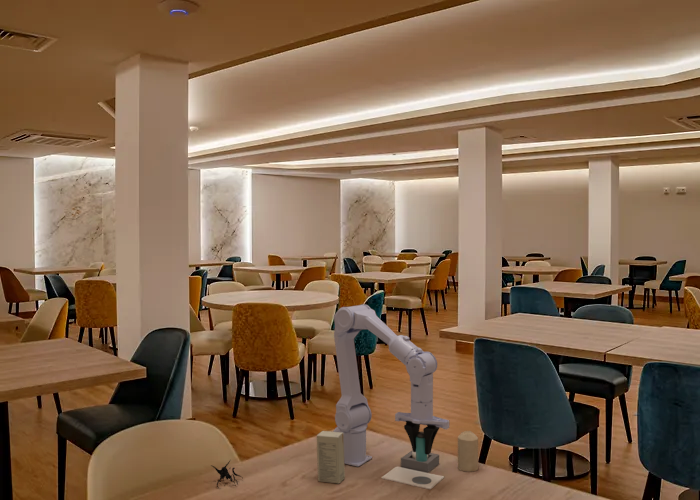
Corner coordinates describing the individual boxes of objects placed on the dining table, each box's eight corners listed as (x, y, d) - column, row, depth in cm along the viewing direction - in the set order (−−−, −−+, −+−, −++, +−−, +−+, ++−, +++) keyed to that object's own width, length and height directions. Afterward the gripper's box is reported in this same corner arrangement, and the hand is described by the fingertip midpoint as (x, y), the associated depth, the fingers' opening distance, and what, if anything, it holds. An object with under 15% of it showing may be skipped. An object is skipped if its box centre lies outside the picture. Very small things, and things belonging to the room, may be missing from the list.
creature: (248, 487, 163) (231, 472, 168) (251, 468, 162) (233, 454, 167) (223, 496, 157) (205, 480, 162) (225, 476, 156) (208, 461, 161)
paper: (381, 478, 165) (381, 476, 165) (396, 467, 173) (396, 465, 173) (430, 489, 158) (430, 488, 158) (444, 477, 165) (444, 476, 165)
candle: (478, 472, 169) (478, 435, 169) (457, 471, 170) (457, 434, 170) (478, 465, 174) (478, 429, 174) (457, 463, 175) (458, 428, 175)
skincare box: (345, 478, 165) (345, 432, 165) (339, 484, 161) (339, 437, 161) (322, 475, 167) (322, 429, 167) (316, 481, 163) (316, 434, 163)
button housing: (400, 467, 173) (400, 458, 173) (413, 458, 179) (413, 449, 179) (427, 473, 168) (427, 463, 168) (439, 463, 175) (439, 454, 175)
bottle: (413, 460, 162) (413, 433, 162) (419, 456, 165) (419, 430, 164) (424, 462, 160) (424, 435, 160) (429, 459, 163) (429, 432, 163)
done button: (409, 462, 173) (409, 451, 173) (416, 457, 177) (416, 446, 177) (424, 465, 171) (424, 454, 171) (430, 460, 175) (430, 449, 175)
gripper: (389, 399, 163) (389, 451, 163) (441, 407, 155) (441, 462, 155) (401, 393, 169) (401, 443, 169) (452, 401, 161) (452, 453, 161)
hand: (421, 452), depth 163 cm, fingers closed on bottle, 3 cm apart
